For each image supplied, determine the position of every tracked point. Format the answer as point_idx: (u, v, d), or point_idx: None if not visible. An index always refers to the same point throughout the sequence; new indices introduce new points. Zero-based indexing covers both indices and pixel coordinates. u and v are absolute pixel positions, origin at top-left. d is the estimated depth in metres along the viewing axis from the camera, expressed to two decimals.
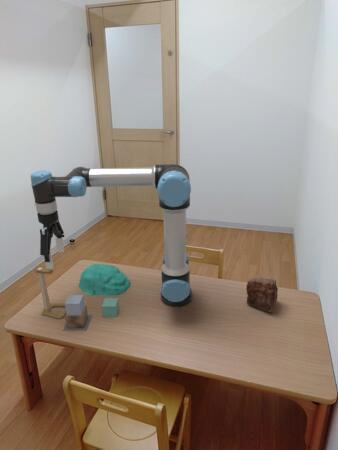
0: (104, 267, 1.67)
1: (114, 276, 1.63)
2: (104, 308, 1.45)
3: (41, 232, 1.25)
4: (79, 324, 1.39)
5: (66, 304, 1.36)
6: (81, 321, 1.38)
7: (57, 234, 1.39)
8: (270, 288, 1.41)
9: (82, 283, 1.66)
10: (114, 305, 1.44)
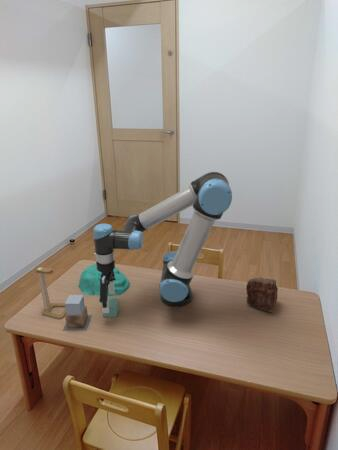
0: None
1: None
2: None
3: (101, 281, 1.34)
4: (79, 324, 1.39)
5: (66, 304, 1.36)
6: (81, 321, 1.38)
7: (110, 278, 1.48)
8: (270, 288, 1.41)
9: (81, 283, 1.66)
10: (114, 305, 1.44)
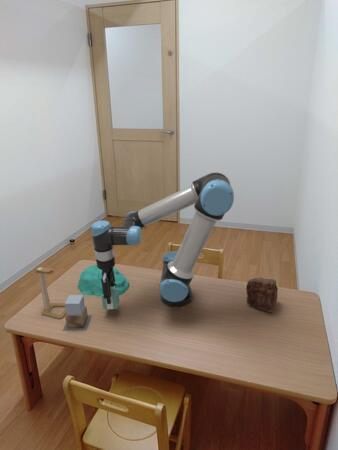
0: None
1: None
2: (104, 300, 1.43)
3: (102, 281, 1.35)
4: (79, 324, 1.39)
5: (66, 304, 1.36)
6: (81, 321, 1.38)
7: (110, 281, 1.46)
8: (270, 288, 1.41)
9: (81, 284, 1.65)
10: (114, 296, 1.43)
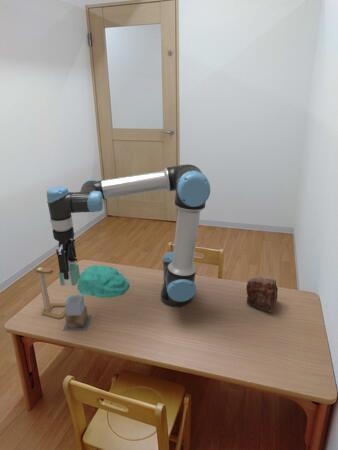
0: (103, 269, 1.66)
1: (113, 278, 1.62)
2: (61, 275, 1.30)
3: (58, 253, 1.22)
4: (79, 324, 1.39)
5: (66, 304, 1.36)
6: (81, 321, 1.38)
7: (70, 256, 1.33)
8: (270, 288, 1.41)
9: (80, 285, 1.64)
10: (72, 271, 1.30)
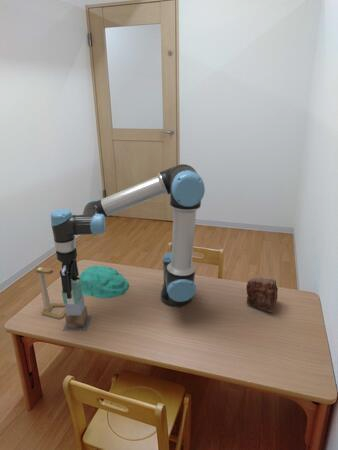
0: (102, 269, 1.66)
1: (112, 278, 1.62)
2: (64, 294, 1.34)
3: (61, 274, 1.26)
4: (79, 324, 1.39)
5: (66, 304, 1.36)
6: (81, 321, 1.38)
7: (73, 275, 1.37)
8: (270, 288, 1.41)
9: None
10: (75, 290, 1.33)
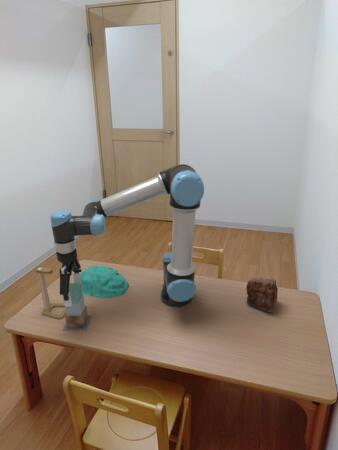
0: (102, 269, 1.66)
1: (112, 278, 1.61)
2: None
3: (61, 272, 1.25)
4: (79, 324, 1.39)
5: None
6: (81, 321, 1.38)
7: (75, 270, 1.39)
8: (270, 288, 1.41)
9: None
10: (75, 290, 1.33)
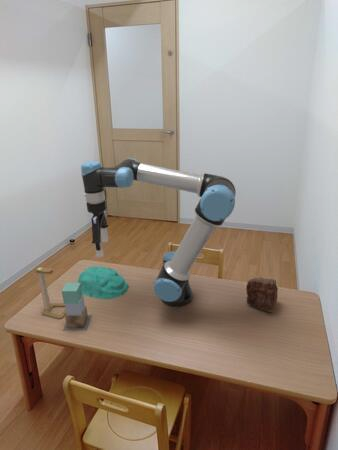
0: (102, 270, 1.65)
1: (111, 279, 1.61)
2: (64, 294, 1.34)
3: (93, 221, 1.29)
4: (79, 324, 1.39)
5: (66, 304, 1.36)
6: (81, 321, 1.38)
7: (102, 224, 1.43)
8: (270, 288, 1.41)
9: None
10: (75, 290, 1.33)
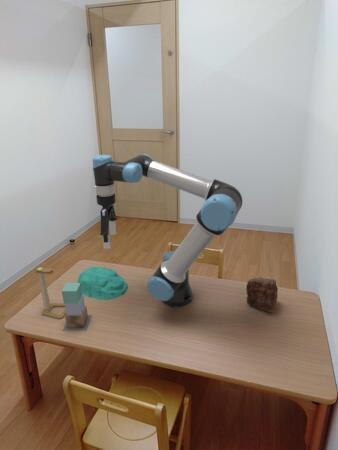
0: (101, 270, 1.65)
1: (111, 280, 1.60)
2: (64, 294, 1.34)
3: (101, 213, 1.31)
4: (79, 324, 1.39)
5: (66, 304, 1.36)
6: (81, 321, 1.38)
7: (111, 217, 1.45)
8: (270, 288, 1.41)
9: None
10: (75, 290, 1.33)
